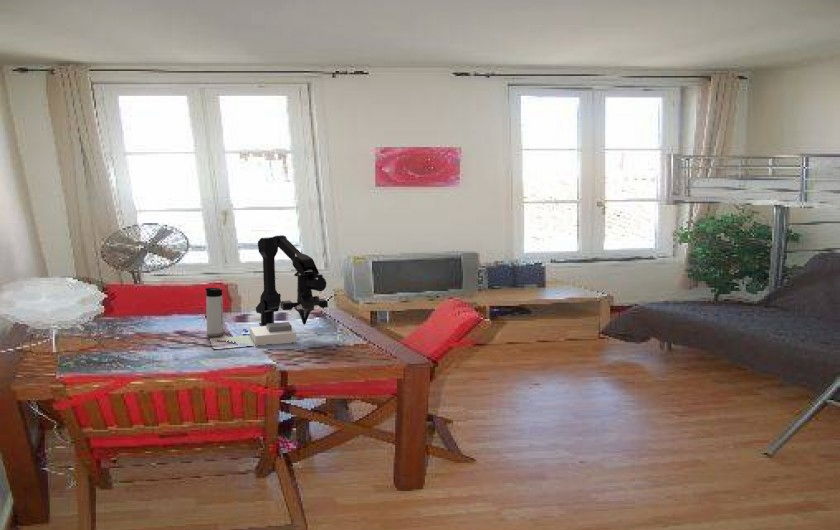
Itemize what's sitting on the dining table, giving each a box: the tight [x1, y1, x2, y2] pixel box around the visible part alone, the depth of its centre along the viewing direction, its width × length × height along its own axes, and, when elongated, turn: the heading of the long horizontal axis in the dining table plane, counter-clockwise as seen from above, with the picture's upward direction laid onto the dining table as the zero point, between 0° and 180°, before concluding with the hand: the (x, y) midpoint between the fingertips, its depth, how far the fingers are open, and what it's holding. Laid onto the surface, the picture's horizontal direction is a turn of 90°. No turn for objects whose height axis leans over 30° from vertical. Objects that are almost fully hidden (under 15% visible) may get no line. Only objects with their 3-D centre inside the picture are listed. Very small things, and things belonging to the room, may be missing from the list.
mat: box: [209, 335, 255, 347], centre depth 208 cm, size 15×15×1 cm
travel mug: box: [205, 287, 224, 337], centre depth 217 cm, size 6×7×20 cm
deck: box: [249, 325, 297, 346], centre depth 215 cm, size 14×16×4 cm
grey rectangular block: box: [266, 321, 293, 332], centre depth 216 cm, size 9×6×2 cm, turn 116°
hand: (304, 324), depth 220 cm, fingers closed
